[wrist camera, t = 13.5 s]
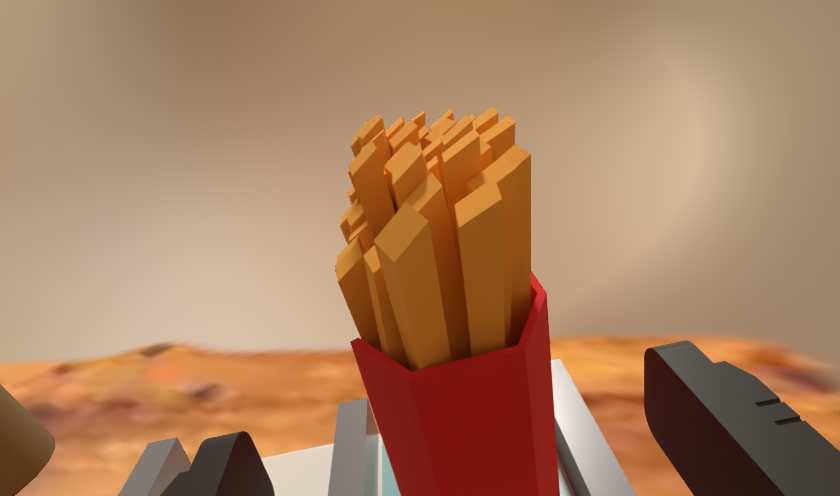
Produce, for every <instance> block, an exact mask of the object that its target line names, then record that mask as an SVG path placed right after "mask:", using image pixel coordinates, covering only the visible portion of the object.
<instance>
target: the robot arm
mask: <svg viewBox="0 0 840 496" xmlns="http://www.w3.org/2000/svg"><path fill="white" fill-rule="evenodd" d="M644 408H645V415H646V419H647V422H648V425H649V427H650V430H651V432H652V434H653V436H654V438H655V440H656V441H657V443H658V444H659V446H660V447H661V448H662V450H663V451H664V453H665V454H666V456H667V457H668V459H669V460H670V461H671V463H672V464H673V466H674V467H675V469H676V470H677V472H678V473H679V474H680V476H681V477H682V479H683V480H684V482H685V483H686V485H687V486H688V487H689V489H690V490H691V492H692V493H693V495H694V496H840V451H838V450H837V449H836V448H835V447H834V446H833V445H832V444H831V443H829V442H828V441H827V440H826V439H825V438H824V437H823V436H822V435H820V434H819V433H818V432H817V431H816V430H815V429H814V428H813V427H811V426H810V425H809V424H808V423H807V422H806V421H802V420H801V419H800V416H799V415H798V414H797V413H796V412H795V411H794V410H792V409H791V408H790V407H789V406H788V405H787V404H786V403H785V402H783V403H782V402H781V401H780V399H779V397H778V396H777V395H776V394H774V393H773V392H772V391H771V390H770V389H769V388H768V387H767V386H765V385H764V384H763V383H762V382H761V381H760V380H759V379H758V378H757V377H755V376H753V375H751V374H749V373H747V372H745V371H743V370H741V369H739V368H737V367H735V366H733V365H731V364H730V363H728V362H726V361H723V362H718V363H713V362H712V361H711V360H710V359H709V358H708V357H707V356H706V355H704V354H703V353H702V352H701V351H700V350H699V349H698V348H697V347H696V346H695V345H694V344H693V343H691V342H689V341H681V342H676V343H671V344H667V345H662V346H657V347H652V348H648V349H647V350H646V352H645V355H644ZM160 496H275V494H274V488H273V485H272V482H271V480H270V478H269V475H268V473H267V471H266V469H265V467H264V465H263V462H262V460H261V458H260V456H259V454H258V451H257V449H256V447H255V445H254V443H253V441H252V439H251V437H250V435H249V434H248V433H247V432H245V431H242V432H237V433H232V434H227V435H222V436H218V437H213V438H208V439H206V440H204V441H203V442H202V444H201V445H200V447H199V449H198V452H197V454H196V456H195V458H194V461H193V463H192V465H191V467H190V469H189V471H185V472H180V473H179V474H178V475H177V476H176V477H175V478H174V480H173V481H172V482H171V483H170V484H169V485H168V487H167V488H166V489H165V490H164V491H163V493H162V494H161V495H160Z"/></svg>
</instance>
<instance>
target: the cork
mask: <svg viewBox="0 0 840 496" xmlns="http://www.w3.org/2000/svg"><path fill="white" fill-rule="evenodd" d="M54 449H55V438H54V437H53V436H52V435H51V434H50V433H49V432H48V431H47V430H46V429H45V428H44V427H43V426H42V425H41V424H40V423H39V422H38V421H37V420H36V419H35V418H34V417H33V416H32V415H31V414H30V413H29V412H28V411H27V410H26V409H25V408H24V407H23V406H22V405H21V404H20V403H19V402H18V401H17V400H16V399H15V398H14V397H13V396H12V395H11V394H10V393H9V392H8V391H7V390H5V389H4V388H3V387H2V386H1V385H0V496H13V495H15V494H16V493H17V492H19V491H20V490H21V489H22V488H23V487H24V486H25V485H26V484H28V483H29V482H30V481H31V480H32V479H33V478H34V477H35V476H36V475H37V474H38V473H39V472H40V471H41V469H42V468H43V467H44V466H45V465H46V463H47V462H48V461H49V459H50V457H51V455H52V453H53V451H54Z"/></svg>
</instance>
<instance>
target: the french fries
mask: <svg viewBox="0 0 840 496" xmlns="http://www.w3.org/2000/svg"><path fill="white" fill-rule="evenodd" d="M430 131H431V132H430V133H429V132H428V129H427V127H426V125H425V113H424V111H423V112H421V113H420V114H419V115H417V116H416V117H415V118H413V119H412V120H410V121H409V122H408V123H406V124H405V123H404V118H403V117H400V118H399V119H398V120H397V121H396V122H395V123H394V124H393V125H392V126H391V127H390V128H389V129H388V130H387V131H386V132H385V128H384V124H383V120H382V117H380V116H378V115H375V116H374V117H373V118H372V119H371V120H370V121H368V120H367V122H366V123H365V124H364V126H363V127H362V128H361V129H360V130H359V132H358V133H357V134H356V135H355V137H354V138H353V139H352V143H351V148H352V150H353V153H354V155H355V159H354V160H353V161H352V163H351V164H350V165H349V176H350V178H351V181H352V184H353V187H352V188H351V189H350V191H349V192H348V194H349V198H350V201H351V204H352V206H351V207H350V208H349V209H348V210H347V211H346V213H345V214H344V215H343V216H342V218H341V223H340V227H341V229H342V232H343V234H344V236H345V239H346V241H347V243H348V246H347V247H346V248H345V250H344V251H343V252H342V253H341V254H340V255H339V256H338V259H337V264H336V266H335V268H336V269H335V271H336V274H337V278H338V283H339V285H340V288H341V290H342V293H343V295H344V298H345V300H346V303H347V305H348V307H349V310H350V312H351V315H352V317H353V320H354V322H355V324H356V327H357V329H358V332H359V334H360V336H361V339H362V340H361V339H360V338H357V339H355V340H353V341H351V345H352V348H353V351H354V354H355V358H356V361H357V364H358V367H359V370H360V373H361V376H362V379H363V382H364V385H365V388H366V391H367V394H368V397H369V400H370V403H371V406H372V409H373V412H374V415H375V418H376V421H377V424H378V427H379V431H380V434H381V437H382V440H383V443H384V446H385V449H386V452H387V455H388V458H389V461H390V464H391V467H392V470H393V473H394V476H395V479H396V482H397V485H398V488H399V491H400V494H401V496H560V487H559V473H558V458H557V443H556V428H555V413H554V398H553V383H552V369H551V354H550V339H549V326H548V309H547V295H546V292H545V290H544V289H543V287H542V286H541V284H540V283H539V282H538V280H537V279H536V277H535V276H534V274H533V273H532V271H531V154H529V153H528V152H526V151H525V150H523V149H522V148H520V147H519V146H517V145H516V144H514V141H515V122H514V121H513V119H512V118H511V117H510V115H509V116H507V117H506V118H504V119H503V120H501V121H500V122H498V112H497V111H496V110H495V109H494V107H492V108H490V109H489V110H487V111H486V112H485V113H483V114H482V115H481V116H479V117H478V118H477V119H476V118H475V117H474V116H473V115H470V116H468V115H466V116H465V117H464V118H462V119H461V120H460V121H459V122H458V123H457V122H456V121H454V118H453V112H452V111H451V110H449V111H448V112H447V113H445V114H444V115H443V116H442V117H441V118H440V119H439V120H438V121H436V122H435V123H434V124H433V125H432V126H431V127H430Z"/></svg>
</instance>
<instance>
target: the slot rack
mask: <svg viewBox="0 0 840 496" xmlns="http://www.w3.org/2000/svg"><path fill="white" fill-rule="evenodd" d="M551 369H552V383H553V398H554V413H555V428H556V443H557V458H558V473H559V487H560V496H637V495H636V493H635V492H634V490H633V488H632V486H631V485H630V483H629V481H628V479H627V477H626V476H625V474H624V472H623V470H622V469H621V467H620V465H619V463H618V461H617V460H616V458H615V456H614V454H613V452H612V451H611V449H610V447H609V445H608V444H607V442H606V440H605V438H604V436H603V435H602V433H601V431H600V429H599V428H598V426H597V424H596V422H595V420H594V419H593V417H592V415H591V413H590V411H589V410H588V408H587V406H586V404H585V403H584V401H583V399H582V397H581V395H580V394H579V392H578V390H577V388H576V386H575V385H574V383H573V381H572V379H571V378H570V376H569V374H568V372H567V370H566V369H565V367H564V365H563V363H562V362H561V360H560V358H559V359H555V360H551ZM261 460H262V462H263V465H264V467H265V469H266V471H267V473H268V475H269V478H270V480H271V482H272V485H273V488H274V494H275V496H401V494H400V491H399V488H398V485H397V482H396V479H395V476H394V473H393V470H392V467H391V464H390V461H389V458H388V455H387V452H386V449H385V446H384V443H383V440H382V437H381V434H378V431H377V427H376V424H375V421H374V418H373V414H372V411H371V408H370V405H369V402H368V398H366V399H361V400H356V401H351V402H346V403H342V404H339V406H338V414H337V423H336V431H335V439H334V443H333V444H328V445H323V446H318V447H314V448H309V449H304V450H299V451H294V452H289V453H284V454H279V455H275V456H270V457H265V458H261ZM191 465H192V464H191V462H190V460H189V458H188V457H187V455H186V453H185V451H184V449H183V447H182V446H181V444H180V442H179V440H178V438H172V439H167V440H162V441H157V442H153V443H149V444H148V445H147V447H146V449H145V450H144V452H143V454H142V456H141V457H140V459H139V461H138V462H137V464H136V466H135V468H134V469H133V471H132V473H131V474H130V476H129V478H128V480H127V481H126V483H125V485H124V486H123V488H122V490H121V491H120V493H119V495H118V496H160V495H161V494H162V493H163V491H164V490H165V489H166V488H167V487H168V485H169V484H170V483H171V482H172V481H173V480H174V478H175V477H176V476H177V475H178V474H179V473H180V472H185V471H189V469H190V467H191Z"/></svg>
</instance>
